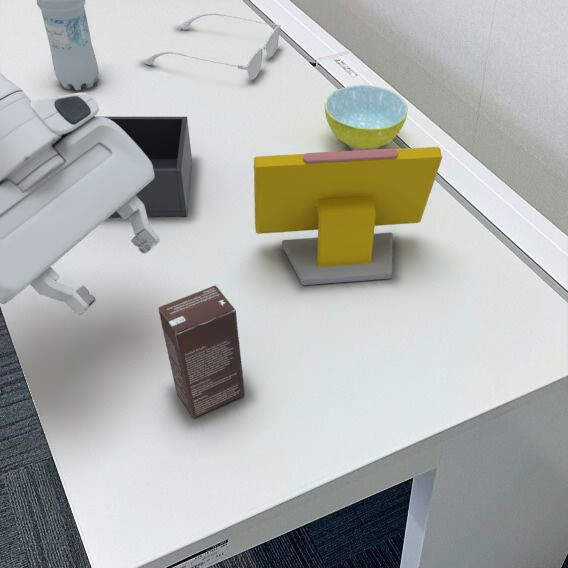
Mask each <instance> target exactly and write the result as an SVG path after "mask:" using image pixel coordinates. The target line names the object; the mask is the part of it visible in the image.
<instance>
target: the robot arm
mask: <svg viewBox="0 0 568 568" xmlns="http://www.w3.org/2000/svg"><path fill="white" fill-rule="evenodd" d="M99 107H100V106H99V105H98V103H97V102H96V100H95V99H94V98H93V97H92V95H90V94H89V93H87V92H82V91H81V92H80V91H79V92H75V93H69V94H65V95H64V94H63V95H59V96H52V97H43V98H36V99H33V100H32V99H30V98H29V96H28V95H27V94H26V92H24V91H23V89H22V88H21V87H20V86H18V85H17V84H16V83H14V82H13V81H11V80H10V79H9V78H7V77H6V76H4V74H3V73H1V72H0V305H6V304H8V303H9V302H11V301H12V300H13V299H15V297H17V296H18V295H20V293H21V292H23V291H24V290H25V289H26V288H28V287H29V286H31V287H32V288H33V289H34V290H35V291H36V292H37V293H38V294H39V295H41V296H44V297H47V298H50V299H53V300H56V301H59V302H61V303H62V302H64V303H65V304H66V305H67V306H68V307H69V308H70V310H72V311H73V312H74V314H75V315H79V316H81V315H82V314H84V313H85V312H87V311H88V310H89V309H90V308H91V307H92V306H93V305H94V304H95V303H96V302H97V299H96V297H95V296H94V294H91V293H90V291H89V289H87V287H86V286H85V285H82V286H80V287H78V288H76V289H75V288H73V287H70V286H68V285H65V284H63V283H60V282H58V280H59V279H60V275H59V274H58V273H57V272H56V271H55V270H54V269H53V268H52V266H53V265H54V264H55V263H57V262H58V261H59V260H61V258H63V257H64V256H65V255H66V254H68V253H69V252H70V251H71V250H73V249H74V248H75V247H76V246H77V245H79V243H80V242H82V241H83V240H84V239H85V238H86V237H88V236H89V235H90V234H91V233H92V232H93V231H94V230H96V229H97V228H98V227H100V225H102V224H103V223H104V222H105V221H106V220H107V219H109V218H111V217H110V216H111V215H112V214H113V213H114V212H116V211H117V212H118V213H119V215H120V216H121V217H120V218H122V219H123V220H126V219H129V222H130V225H131V227H132V230H133V232H134V233H133V234H134V237H132V238H131V239H130V242H131V243H132V244H133V245H134V246H135V247H137V248H138V250H139V252H140V253H142V254H147V253H148V252H150V251H151V250H152V249H154V247H156V246H157V245H158V244H159V243H160V242H161V239H160V237H159V236H158V234H157V233H156V232H155V231H154V230H153V229H152V227H151V226H150V221H149V218H148V217H147V214H146V210H145V206H144V204H143V203H142V202H141V200H140V199H139V198H138V197H137V196H136V194H137V193H138V192H139V191H140V190H142V189H143V188H144V187H145V186H146V185H147V184H149V183H150V182H151V181H152V180H153V179H154V177H155V176H154V170H153V165H152V163H151V161H150V160H149V159H148V157H147V156H146V155H145V154H144V152H143V151H142V150H141V149H140V148H139V147H138V145H137V144H136V143H135V142H134V141H133V140H132V139H131V138H130V137H129V136H128V135H127V134H126V132H125V131H124V130H123V129H122V128H121V127H119V126H118V125H117V124H116V123H115V122H113V121H112V120H110V119H108V118H105V117H96V116H97V114H98V113H99V110H100V108H99ZM94 116H95V117H94ZM93 117H94V118H93Z"/></svg>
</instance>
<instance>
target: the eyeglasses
mask: <svg viewBox="0 0 568 568" xmlns="http://www.w3.org/2000/svg"><path fill="white" fill-rule="evenodd" d="M206 16H219V17H227V18H235V19H239V20H243V21H244V20H245V21H248V22H255V23H259V24H264V25H268V26H271V27H272V28H274V29H273V30H272V32H271V33H270V35H268V38H266V39H267V40H266V42H265V43H264V44H263V45H262V46H261V47H260V48H258V49H257V50H256V51H255V52H254V54H253V55H252V56H251V57H250V59H249V60H248V61H247V64H245V65H243V64H237V65H236V64H231V63H230V64H229V63H224V62H220V61H219V62H218V61H213V60H210V59H204V58H199V57H195V56H191V55H187V54H183V53H180V52H176V51H164V52H159V53H156V54H152V55H151V56H150V57H148V58H146V59H145V60H144V64H145V65H148V66H152V65H153V64H154V63H155V61H156V59H158V58H159V57H161V56H164V55H168V54H171V55H172V54H173V55H179V56H182V57H188V58H192V59H195V60H196V59H197V60H200V61H206V62H210V63H215V64H221V65H226V66H231V67H236V68H237V69H239V70H245V71H247V75H248V77H249V80H251V81H254V80H256V78H257V77H258V76H259V73H260V71H261V68H262V62H263V53H264V51H265V53H266V55H267V58H268V59H270V58H272V57H274V56H275V54H276V52H277V49H278V44H279V39H280V33H281V31H280V30H281V25H282V24H277V23H271V24H270V23H266V22H262V21H257V20H254V19H253V20H252V19H247V18H242V17H238V16H232V15H228V14H227V15H226V14H222V13H204V14H200V15H196V16H194V17H192V18H190V19H188V20H186V21H184V22H183V23H182V24H180V26H179V29H180V30H187V29H189V28H190V26H191V25H192V23H193V22H195V21H196V20H198V19H200V18H203V17H206Z"/></svg>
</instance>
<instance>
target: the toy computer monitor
mask: <svg viewBox="0 0 568 568" xmlns="http://www.w3.org/2000/svg"><path fill="white" fill-rule="evenodd" d="M442 160H443V155H442V151H441V148H440V147H439V146H428V147H425V146H424V147H410V148H409V147H408V148H378V149H375V150H356V151H353V150H339V151H337V150H336V151H323V152H322V151H320V152H319V151H318V152H306V153H297V154H296V153H295V154H293V153H292V154H277V155H258V156H257V155H256V156H254V157H253V190H254V192H253V195H254V230H255V234H257V235H258V234H259V235H260V234H275V233H276V234H277V233H290V232H304V231H305V232H306V231H317V237H308V238H293V239H292V238H291V239H283V240H281V247H282V249H283V251H284V253H285V254H286V256H287V258H288V261H289V263H290V264H291V266H292V268H293V270H294V272H295V274H296V276H297V277H298V280H299V281H300V284H301V285H303V286H309V285H323V284H334V283H335V284H336V283H347V282H348V283H349V282H360V281H361V282H363V281H372V280H373V281H375V280H387V279H388V280H389V279H392V277H393V237H394V236H393V233H392V232H379V233H375V227H377V226H378V227H379V226H392V225H408V224H419V223H421V221H422V218H423V216H424V212H425V209H426V206H427V204H428V200H429V198H430V195H431V192H432V189H433V186H434V183H435V180H436V177H437V175H438V172H439V168H440V165H441V163H442Z"/></svg>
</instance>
